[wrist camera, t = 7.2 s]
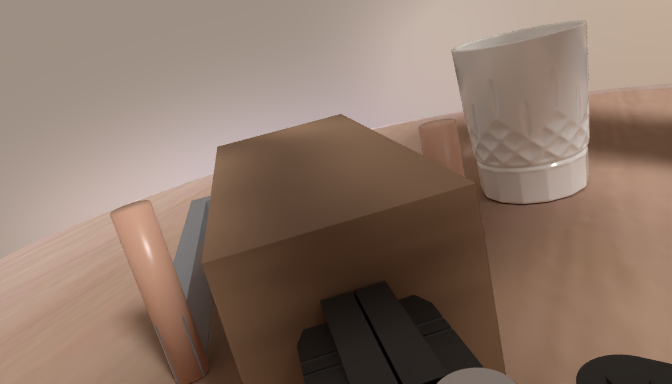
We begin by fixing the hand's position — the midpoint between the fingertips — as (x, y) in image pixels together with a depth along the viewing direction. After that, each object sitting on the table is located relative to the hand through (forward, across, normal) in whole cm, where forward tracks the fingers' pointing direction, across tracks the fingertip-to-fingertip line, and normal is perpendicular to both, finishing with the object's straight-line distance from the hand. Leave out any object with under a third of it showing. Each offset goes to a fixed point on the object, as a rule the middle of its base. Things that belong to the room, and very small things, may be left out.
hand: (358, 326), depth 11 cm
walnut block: (+7, 0, +6) cm, 10 cm away
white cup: (+20, -16, +7) cm, 27 cm away
